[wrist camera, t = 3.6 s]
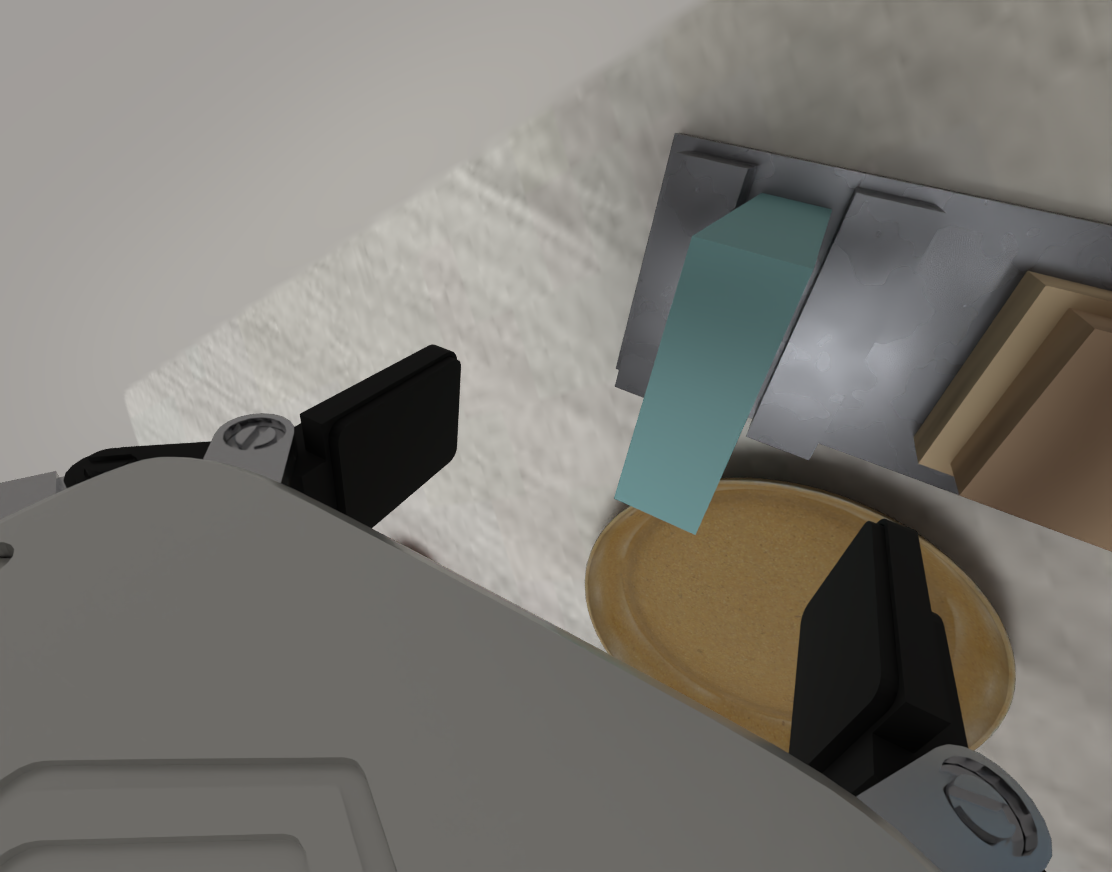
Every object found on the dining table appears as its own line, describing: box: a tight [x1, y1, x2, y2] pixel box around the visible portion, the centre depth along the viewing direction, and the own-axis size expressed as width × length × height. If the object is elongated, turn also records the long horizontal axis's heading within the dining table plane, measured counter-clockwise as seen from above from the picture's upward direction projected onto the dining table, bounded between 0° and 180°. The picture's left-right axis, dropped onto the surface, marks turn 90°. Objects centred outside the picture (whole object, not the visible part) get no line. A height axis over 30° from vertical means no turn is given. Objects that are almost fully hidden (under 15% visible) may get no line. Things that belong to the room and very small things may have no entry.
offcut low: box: [913, 271, 1112, 476], centre depth 20 cm, size 6×8×2 cm
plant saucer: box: [585, 478, 1016, 753], centre depth 33 cm, size 24×24×3 cm
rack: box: [615, 133, 1112, 495], centre depth 22 cm, size 24×12×4 cm, turn 80°
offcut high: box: [950, 308, 1112, 552], centre depth 18 cm, size 5×7×2 cm
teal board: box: [614, 193, 832, 535], centre depth 20 cm, size 3×9×12 cm, turn 170°
